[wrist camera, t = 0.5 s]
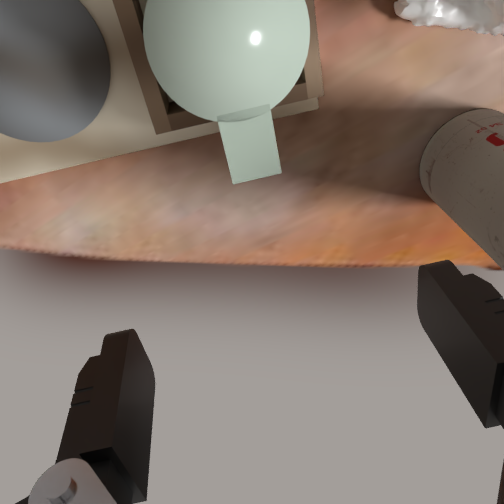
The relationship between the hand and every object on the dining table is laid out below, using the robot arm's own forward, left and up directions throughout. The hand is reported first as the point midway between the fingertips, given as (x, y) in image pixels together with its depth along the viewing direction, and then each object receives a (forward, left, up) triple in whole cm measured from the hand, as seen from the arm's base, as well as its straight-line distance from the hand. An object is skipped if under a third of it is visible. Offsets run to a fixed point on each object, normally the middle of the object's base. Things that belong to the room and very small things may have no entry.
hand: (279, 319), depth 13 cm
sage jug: (-4, +1, -21) cm, 22 cm away
